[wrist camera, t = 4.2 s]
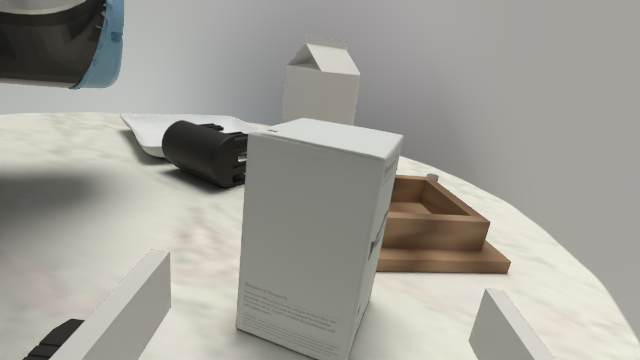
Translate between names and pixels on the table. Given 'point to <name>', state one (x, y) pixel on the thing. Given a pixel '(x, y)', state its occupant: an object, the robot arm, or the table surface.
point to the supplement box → (313, 232)
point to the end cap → (206, 152)
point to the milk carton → (321, 82)
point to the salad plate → (155, 125)
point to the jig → (435, 232)
